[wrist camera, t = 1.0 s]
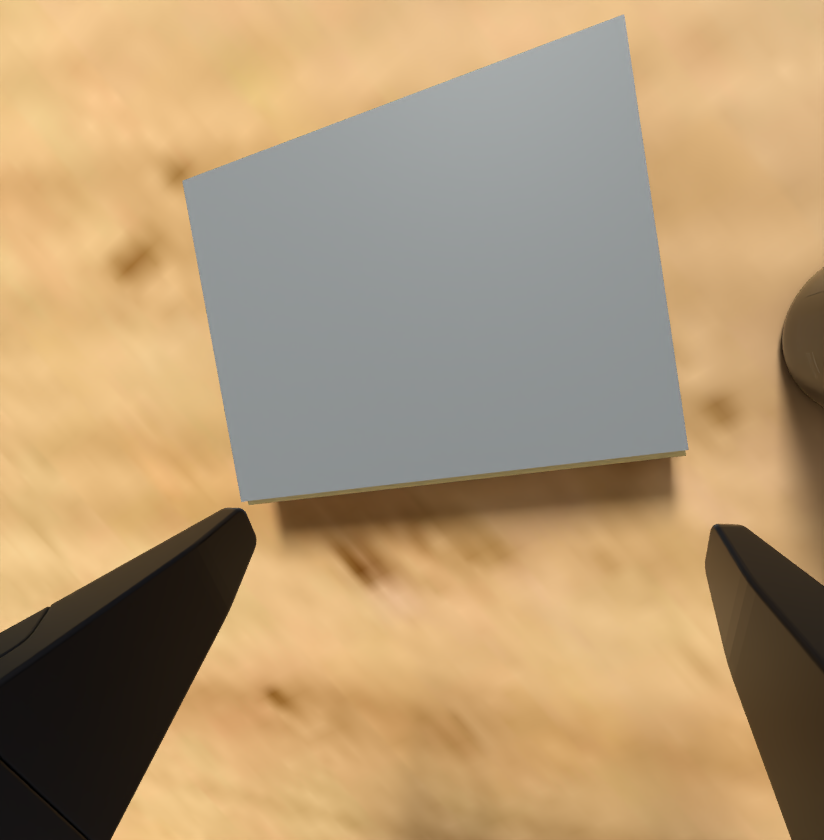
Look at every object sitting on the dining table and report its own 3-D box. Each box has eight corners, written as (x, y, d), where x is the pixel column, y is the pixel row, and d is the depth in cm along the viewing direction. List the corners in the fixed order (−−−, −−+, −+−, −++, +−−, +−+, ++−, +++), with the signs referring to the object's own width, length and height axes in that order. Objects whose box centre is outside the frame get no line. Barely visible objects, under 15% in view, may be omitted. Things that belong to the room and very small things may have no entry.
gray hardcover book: (670, 446, 20) (689, 457, 17) (276, 493, 26) (242, 507, 23) (613, 67, 20) (623, 14, 17) (223, 202, 26) (182, 180, 23)
